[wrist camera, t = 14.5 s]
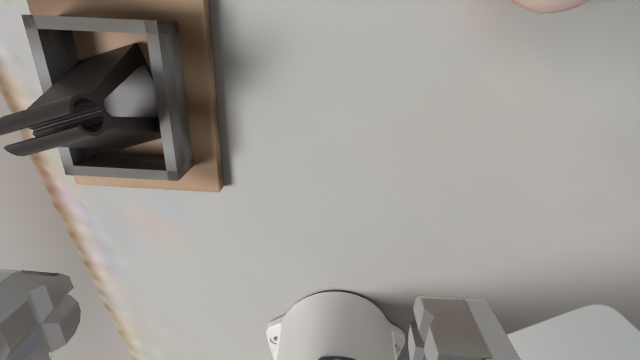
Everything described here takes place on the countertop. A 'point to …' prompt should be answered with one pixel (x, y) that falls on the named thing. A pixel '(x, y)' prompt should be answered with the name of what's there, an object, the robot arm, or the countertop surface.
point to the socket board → (168, 77)
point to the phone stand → (92, 106)
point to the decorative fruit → (549, 5)
